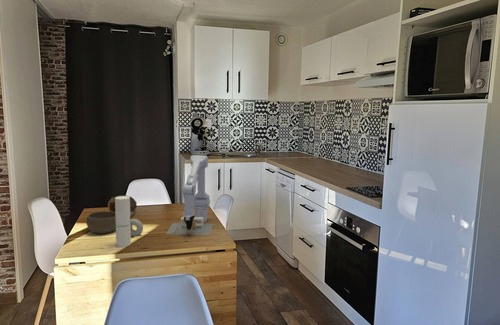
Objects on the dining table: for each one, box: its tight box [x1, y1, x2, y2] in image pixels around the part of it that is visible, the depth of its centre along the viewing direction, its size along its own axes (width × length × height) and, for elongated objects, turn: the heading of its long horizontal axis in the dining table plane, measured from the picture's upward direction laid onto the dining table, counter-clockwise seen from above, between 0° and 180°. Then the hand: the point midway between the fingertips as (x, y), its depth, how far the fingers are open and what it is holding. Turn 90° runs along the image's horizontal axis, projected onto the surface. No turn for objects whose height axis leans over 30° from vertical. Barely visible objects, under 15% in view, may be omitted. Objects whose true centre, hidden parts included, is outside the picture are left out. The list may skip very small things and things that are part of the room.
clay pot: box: [107, 194, 138, 217], centre depth 246 cm, size 15×15×25 cm
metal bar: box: [171, 226, 178, 235], centre depth 213 cm, size 10×2×1 cm, turn 1°
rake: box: [186, 227, 196, 235], centre depth 211 cm, size 10×6×7 cm, turn 1°
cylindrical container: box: [115, 195, 132, 248], centre depth 190 cm, size 7×7×25 cm
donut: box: [130, 218, 144, 237], centre depth 204 cm, size 10×4×10 cm, turn 79°
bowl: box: [86, 210, 116, 235], centre depth 211 cm, size 17×18×10 cm
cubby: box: [165, 216, 214, 236], centre depth 217 cm, size 21×25×6 cm
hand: (189, 229), depth 208 cm, fingers closed on rake
